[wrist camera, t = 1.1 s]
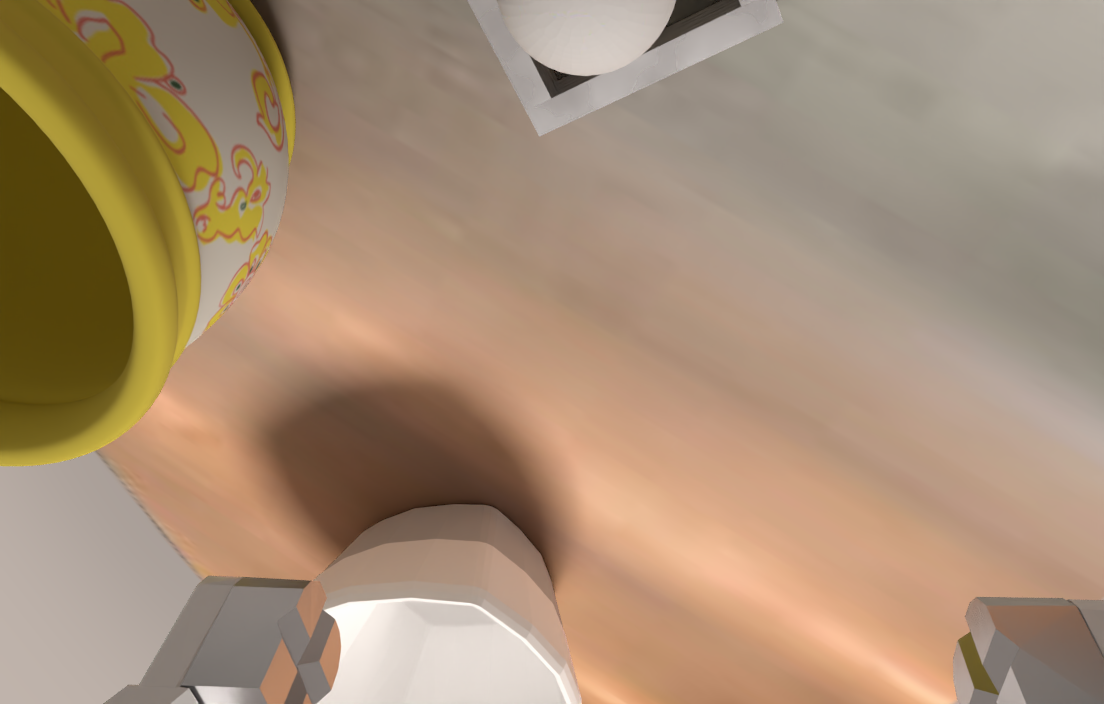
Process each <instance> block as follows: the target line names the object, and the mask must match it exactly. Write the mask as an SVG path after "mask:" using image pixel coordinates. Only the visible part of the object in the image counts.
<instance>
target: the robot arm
mask: <svg viewBox="0 0 1104 704" xmlns="http://www.w3.org/2000/svg"><path fill="white" fill-rule="evenodd" d="M326 599H327V596H326V594H325V592H324V589H323V587H322V585H321V583H320V581H306V580H288V579H270V578H252V577H228V576H208V577H206V578H205V579H204V580H203V581H202V582H200V583H199V584H198V585H197V586H196V588H195V589H194V591H193V593H192V595H191V596H190V598H189V600H188V602H187V603H186V605H185V607H184V608H183V610H182V612H181V614H180V615H179V617H178V619H177V620H176V622H175V624H174V626H173V627H172V629H171V631H170V632H169V634H168V636H167V638H166V640H165V641H164V643H163V644H162V646H161V648H160V650H159V651H158V653H157V655H156V656H155V658H154V660H153V662H152V663H151V665H150V667H149V669H148V670H147V672H146V674H145V675H144V677H143V679H142V681H141V682H140V684H139V685H127V686H126V687H125V688H124V689H122V690H121V691H120V692H118V693H117V694H116V695H114V696H113V697H112V698H110V699H109V700H108V701H106V702H105V703H103V704H317V703H318V702H319V701H320V700H321V699H322V698H323V697H324V696H326V695H327V694H328V693H329V692H330V691H331V690H332V687H333V684H334V681H335V678H336V675H337V672H338V668H339V660H340V653H341V640H340V631H339V628H338V625H337V622H336V620H335V619H334V618H333V617H332V616H331V615H329V614H328V613H327V612H325V611H324V610H323V607H324V604H325V601H326ZM965 618H966V620H967V623H968V626H969V629H970V632H969V633H968V634H966V635H965V636H963V637H962V638H960V639H959V640H958V641H957V645H956V649H955V653H954V657H953V677H954V685H955V690H956V696H957V700H958V703H959V704H1104V600H1065V599H1063V598H1006V597H976V598H975V599H974V600H972V601H971V602H970V604H969V607H968V610H967V612H966V615H965Z"/></svg>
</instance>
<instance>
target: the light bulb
mask: <svg viewBox="0 0 1104 704" xmlns="http://www.w3.org/2000/svg"><path fill="white" fill-rule="evenodd" d="M675 2H676V0H497V3H498V6H499V9H500V13H501V15H502V18H503V20H504V22H505V24H506V26H507V28H508V30H509V31H510V33H511V34H512V36H513V37H514V39H515V40H516V42H517V43H518V44H519V45H520V46H521V47H522V48H523V49H524V51H525V52H527V53H528V54H529V55H530V56H531V57H533V58H534V59H535V60H537V61H538V62H540V63H542V64H543V65H545V66H547V67H549V68H551V69H554V70H556V71H559V72H562V73H566V74H571V75H580V76H590V75H600V74H604V73H608V72H612V71H615V70H617V69H619V68H622V67H624V66H626V65H628V64H629V63H631V62H633V61H634V60H636V59H637V58H639V57H640V56H641V55H642V54H643V53H644V52H645V51H647V50H648V49H649V48H650V47H651V46H652V44H653V43H654V42H655V41H656V40H657V39H658V37H659V36H660V34H661V33H662V31H663V30H664V28H665V26H666V25H667V23H668V21H669V18H670V16H671V14H672V11H673V9H674V6H675Z"/></svg>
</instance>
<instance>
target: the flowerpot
mask: <svg viewBox="0 0 1104 704" xmlns="http://www.w3.org/2000/svg"><path fill="white" fill-rule="evenodd" d="M295 124H296V119H295V106H294V99H293V93H292V89H291V84H290V80H289V77H288V73H287V70H286V67H285V64H284V61H283V59H282V56H281V54H280V51H279V49H278V47H277V45H276V42H275V40H274V39H273V37H272V35H271V33H270V31H269V29H268V27H267V26H266V24H265V22H264V21H263V19H262V17H261V16H260V14H259V13H258V11H257V10H256V8H255V7H254V5H253V4H252V3H251V1H250V0H0V466H33V465H43V464H50V463H57V462H61V461H66V460H70V459H73V458H76V457H80V456H82V455H86V454H88V453H90V452H93V451H95V450H97V449H100V448H102V447H103V446H105V445H107V444H109V443H111V442H112V441H114V440H116V439H117V438H118V437H120V436H121V435H122V434H124V433H125V432H127V431H128V430H129V429H130V428H131V427H132V426H133V425H134V424H136V423H137V422H138V421H139V420H140V419H141V418H142V417H143V415H144V414H145V413H146V412H147V411H148V409H149V408H150V407H151V406H152V404H153V403H154V401H155V400H156V398H157V397H158V395H159V394H160V392H161V390H162V388H163V386H164V384H165V382H166V379H167V377H168V374H169V371H170V368H171V367H172V366H173V365H174V364H175V362H176V361H177V360H178V358H179V357H180V355H181V354H182V352H183V351H184V349H185V348H186V347H187V346H188V345H190V344H191V343H192V342H194V341H195V340H196V339H197V338H198V337H200V336H201V335H202V334H203V333H204V332H205V331H206V330H207V329H208V328H209V327H211V326H212V325H213V324H214V323H215V322H216V321H217V320H218V319H219V318H220V317H221V316H222V315H223V314H224V313H225V312H226V311H227V309H228V308H229V307H230V306H231V305H232V304H233V302H234V301H235V300H236V299H237V298H238V297H239V295H240V294H241V293H242V292H243V290H244V289H245V288H246V287H247V285H248V284H249V282H250V281H251V279H252V278H253V276H254V275H255V273H256V272H257V270H258V269H259V267H260V266H261V264H262V262H263V260H264V258H265V256H266V255H267V253H268V251H269V249H270V247H271V244H272V242H273V239H274V237H275V234H276V232H277V229H278V226H279V223H280V220H281V216H282V213H283V209H284V203H285V198H286V193H287V184H288V172H289V164H290V161H291V157H292V153H293V148H294V141H295Z"/></svg>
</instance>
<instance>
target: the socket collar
mask: <svg viewBox="0 0 1104 704" xmlns="http://www.w3.org/2000/svg"><path fill="white" fill-rule="evenodd" d="M467 1H468V3H469V5H470V6H471V8H472V10H473V12H474V14H475V16H476V18H477V20H478V22H479V23H480V25H481V27H482V29H483V31H484V33H485V35H486V37H487V38H488V40H489V42H490V44H491V46H492V48H493V50H494V52H495V54H496V55H497V57H498V59H499V61H500V63H501V65H502V67H503V69H504V71H505V72H506V74H507V76H508V78H509V80H510V82H511V84H512V86H513V88H514V89H515V91H516V93H517V95H518V97H519V99H520V101H521V103H522V105H523V106H524V108H525V110H526V112H527V114H528V116H529V118H530V120H531V122H532V123H533V125H534V127H535V129H536V131H537V133H538V135H539V136H542V135H544V134H546V133H548V132H550V131H552V130H554V129H557V128H559V127H561V126H563V125H565V124H567V123H569V122H572V121H574V120H576V119H578V118H580V117H582V116H584V115H587V114H589V113H591V112H593V111H595V110H597V109H599V108H601V107H604V106H606V105H608V104H610V103H612V102H614V101H616V100H619V99H621V98H623V97H625V96H627V95H629V94H631V93H634V92H636V91H638V90H640V89H642V88H644V87H646V86H648V85H651V84H653V83H655V82H657V81H659V80H661V79H663V78H666V77H668V76H670V75H672V74H674V73H676V72H678V71H681V70H683V69H685V68H687V67H689V66H691V65H693V64H696V63H698V62H700V61H702V60H704V59H706V58H708V57H710V56H713V55H715V54H717V53H719V52H721V51H723V50H725V49H728V48H730V47H732V46H734V45H736V44H738V43H740V42H743V41H745V40H747V39H749V38H751V37H753V36H755V35H758V34H760V33H762V32H764V31H766V30H768V29H770V28H772V27H775V26H777V25H779V24H781V23H783V19H782V16H781V13H780V11H779V8H778V5H777V2H776V0H721V1H719V2H717V3H715V4H713V5H711V6H709V7H707V8H705V9H703V10H701V11H699V12H697V13H695V14H693V15H691V16H689V17H687V18H685V19H683V20H680V21H678V22H676V23H674V24H672V25H670V26H668V27H666V28H664V30H663V31H662V33H661V34H660V36H659V37H658V39H657V40H656V41H655V42H654V43H653V44H652V46H651V47H650V48H649V49H648V50H647V51H645V52H644V53H643V54H642V55H641V56H640V57H639V58H637V59H636V60H634V61H633V62H631V63H629V64H628V65H626V66H624V67H622V68H619V69H617V70H615V71H612V72H608V73H604V74H600V75H590V76H580V75H569V76H567V77H564V78H562V79H560V80H558V79H557V77H556V75H555V73H554V71H553V69H551V68H549V67H547V66H545V65H543V64H542V63H540V62H538V61H537V60H535V59H534V58H533V57H531V56H530V55H529V54H528V53H527V52H525V51H524V49H523V48H522V47H521V46H520V45H519V44H518V43H517V42H516V40H515V39H514V37H513V36H512V34H511V33H510V31H509V30H508V28H507V26H506V24H505V22H504V20H503V18H502V15H501V13H500V9H499V6H498V3H497V0H467Z"/></svg>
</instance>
